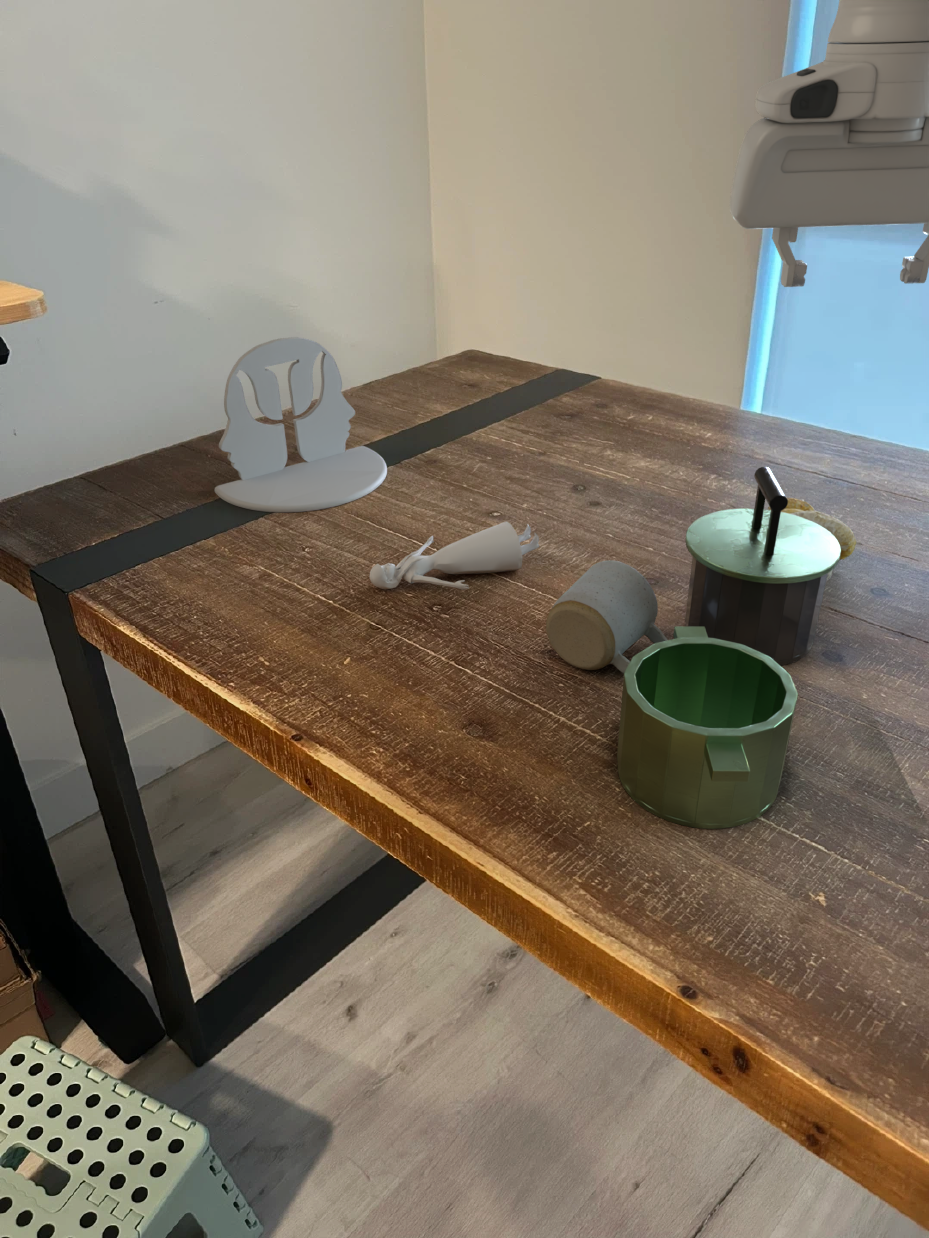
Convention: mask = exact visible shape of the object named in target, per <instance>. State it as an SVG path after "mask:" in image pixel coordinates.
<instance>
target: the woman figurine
mask: <svg viewBox="0 0 929 1238" xmlns="http://www.w3.org/2000/svg"><path fill="white" fill-rule="evenodd" d="M531 528H532V527H531V526H530V525H529V524H528V523H526V528H525V529H524V531H523V532H522V534H518V533H517V531H516V529H515V527H514V526H513V525H512V524H511V523H510V522H509V521H503V522H500V523H498V524H496V525H495V524H494V525H493V526H489V527H488V528H486V529H485V528H484V529H483V530H480V531H476V532H475V533H473V534H470V535H467V536H466V537H463V538H460V539H459V540H456V541H454V542H452V543H450V544H448V545H446V546H443V547H442V548H440V549H438V550H437V551H435V552H433V553H432V554H431V555H422V553H423V552H424V551H425V550H426V549H427V548H428V547H429V546H430V545H431V544H433V543H435V541H434V535H431V536H429V537H428V539H427V541H426V542H425V543H423V545H421V546H420V548H418V549H417V550H415V551H412V552H411V553H410V554H408V555H406V556H404V558H402V559H401V560H400V561H399V563H397V564H394V563H391V562H387V563H385V564H382V565H380V564H379V563H376V564H375V565H373V566H372V568H371V569H370V572H369V580H370V583H371V584H372V585H373V586H375V588H379V589H381V590H391V589H395V588H397V586H399V584H400V583H401V581H402V579H403V580H404V581H406V582H408V583H410V584H412V585H413V584H414V583H426V584H432V585H437V586H443V587H451V588H454V589H458V590H461V591H466V590H469V589H470V586H469V584H466V583H464V582H465V581H466V580H465V579H462V580H457V581H455V582H452V581H447V580H441V579H439V578H436V577H433V576H425V575H426V574H427V573H429V572H431V571H433V570H434V571H435V570H437V571H438V572H441V573H444V574H448V575H470V574H471V575H472V574H473V575H474V574H476V575H477V574H492V573H493V574H494V573H503V572H511V571H519V570H521V569H522V566H523V559H524V556H523V555H526V554H528V553H530V552H532V551H536V549H539V548H540V543H539V542H540V536H539V535H538V533H536V532H534V536H533V537H532V535H531V533H532V532H531V531H532V529H531ZM531 538H532V539H531ZM529 539H531V541H530V542H529V543H525V544H522V545H521V543H522V542H526V541H527V540H529Z"/></svg>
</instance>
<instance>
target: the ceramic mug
mask: <svg viewBox="0 0 929 1238" xmlns="http://www.w3.org/2000/svg"><path fill="white" fill-rule="evenodd" d="M658 613H659V605H658V599H657V596H656V594H655V591H654V589H653V587H652V586H651V584H650V582H649V581H648V580H647V579H646V577H645V576H644V575H642V573H641V572H639V571H638V570H637V569H636V568H634V567H633V566H631V565H630V564H627V563H624V562H622V561H618V560H612V559H611V560H608V559H607V560H603V561H600V562H596V563H595V564H593V565H592V566H590V567H589V568H588V569H587V570H586V571H585V572H584V573H583V574H582V575H581V576H580V577H579V578H578V579H577V580H576V581H575V582H574V583H573V584H572V585H571V586H569V588H568V589H567V590H566V591H565V592H564V593H563V594H562V595H561V596H559V598H558V599H557V600H556V601H555V602H554V604H553V606H552V607H551V609H550V610H549V612H548V614H547V617H546V621H545V632H546V635H547V638H548V641H549V644H550V645H551V647H552V649H553V650H554V651H555V653H557V655H558V656H559V657H560V658H561V659H562V660H563V661H565V662H566V663H568V664H569V665H571V666H573V667H574V668H577V669H580V670H585V671H586V670H587V671H595V670H600V669H603V668H604V667H606V666H608V665H613V666H614V667H615V668H616V669H617V670H618V671H619V672H621V673H622V674H624V672H625V670H626V668H627V667H628V665H629V663H630V661H631V660H629V659H628V658H627V657H626V656H624V655H623V654H624V653H625V651H627V650H628V649H629V648H630V647H631V646H633V645H635V644H636V643H637V642H638V641H639V640H640V639H641V638H642V637H643V636H646V637H647V638H648V639H649V640H650V642H651V643H653V644H655V643H659V642H663V641H667V640H668V638H667V637H666V635H665V634H664V633H663V631H662V630H661V629H660V628H659V627H658V626H657V625H656V624H655V623H656V619H657V617H658Z"/></svg>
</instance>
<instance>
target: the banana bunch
mask: <svg viewBox="0 0 929 1238" xmlns="http://www.w3.org/2000/svg"><path fill="white" fill-rule="evenodd" d="M786 498H787V500H788V504H787V507H786V508H785V509H784V510H782V511H781V512H784V513H788V514H792V515H796V516H799V517H802V518H805V519H807V520H810V521H812V522H814V523H816V524H818V525H820V526H822V527H823V528H825V529H826V530H828V531H829V532H830V533H831V534H832V535H833V536H834V537H835V538H836V539H837V541H838V542H839V544H840V548H841V555H840V560H839V561H841V560H846V558H848V557H850V556H851V555H852V554H853V553H854V551H855V548H856V545H857V540H856V537H855V534H854V532H853V531H852V529H851V527H850V526H848V525H846V524H845V523H844V522H843V521H842V520H840V519H838V518H837V517H835V516H833V515H831V514H827V513H825V512H822V511H820V510H819V511H817V510H815V508H814V506H812V505H811V504H810V503H808V502H807V501H805V500H801V499H799V498H794V497H786ZM766 510H771V508H770V506H769V505H768V507H767V509H766ZM832 576H833V570H831V571H830V572H829V573H828V575H827V580H826V582H827V581H828V580H830V579H831V577H832Z"/></svg>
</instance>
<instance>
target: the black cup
mask: <svg viewBox="0 0 929 1238" xmlns="http://www.w3.org/2000/svg"><path fill="white" fill-rule="evenodd" d="M827 575H828V573H827V574H825V575H823V576H821V577H818V578H816V579H812V580H808V581H803V582H796V583H779V584H778V583H761V582H754V581H747V580H743V579H738V578H734V577H731V576H727V575H725V574H722V573H719V572H717V571H715V570H712V569H710V568H708V567H707V566H705V565H703V564H702V563H700V562H699V561H698V560H696V559H695V558H694V557H693V556H692V559H691V567H690V574H689V582H688V591H687V599H686V607H685V617H684V626H694V627H705V630H706V633H707V636H708V638H715V639H720V640H724V641H729V642H734V643H738V644H742V645H745V646H747V647H749V648H752V649H754V650H756V651H758V652H760V653H762V654H765V655H767V656H769V657H770V658H772V659H773V660H774V661H775V662H776V663H778V664H779V665H780V666H781V667H783V666H786V665H789V664H793V663H795V662H797V661H800V660H802V659H803V658H804V657H806V656H807V655H808V654H809V653H810V652H811V650H812V648H813V645H814V643H815V638H816V633H817V628H818V623H819V618H820V614H821V608H822V604H823V598H824V596H825V595H824V594H825V589H826V584H827V581H828V580H827ZM826 580H827V581H826Z"/></svg>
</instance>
